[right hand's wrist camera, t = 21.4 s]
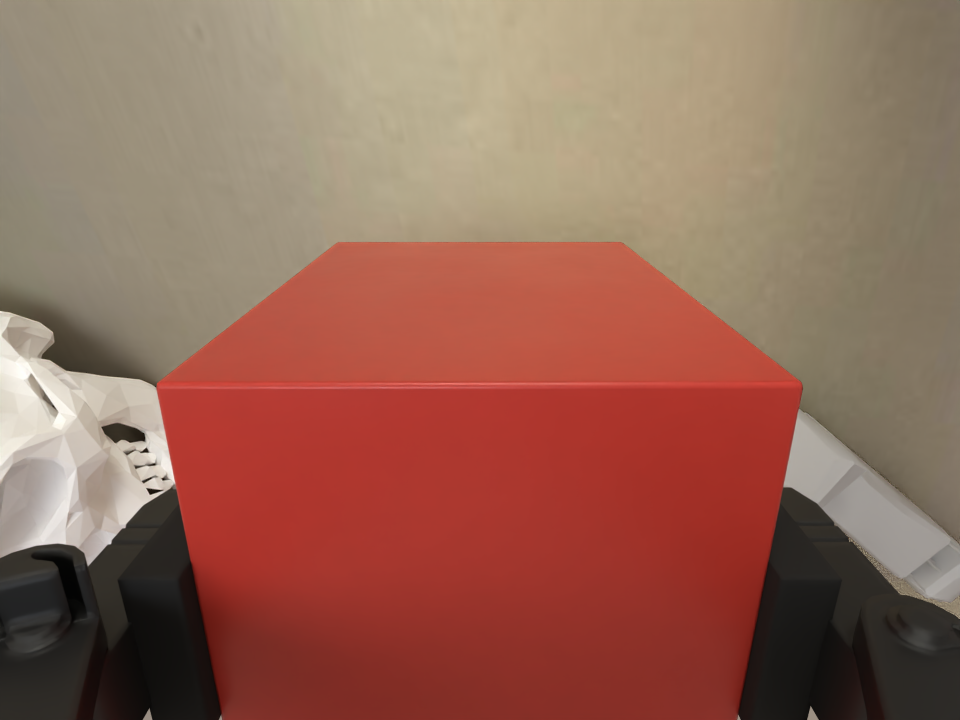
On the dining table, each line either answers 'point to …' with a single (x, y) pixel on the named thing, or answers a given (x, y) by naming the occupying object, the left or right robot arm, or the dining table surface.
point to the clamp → (873, 511)
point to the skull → (70, 447)
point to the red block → (479, 489)
